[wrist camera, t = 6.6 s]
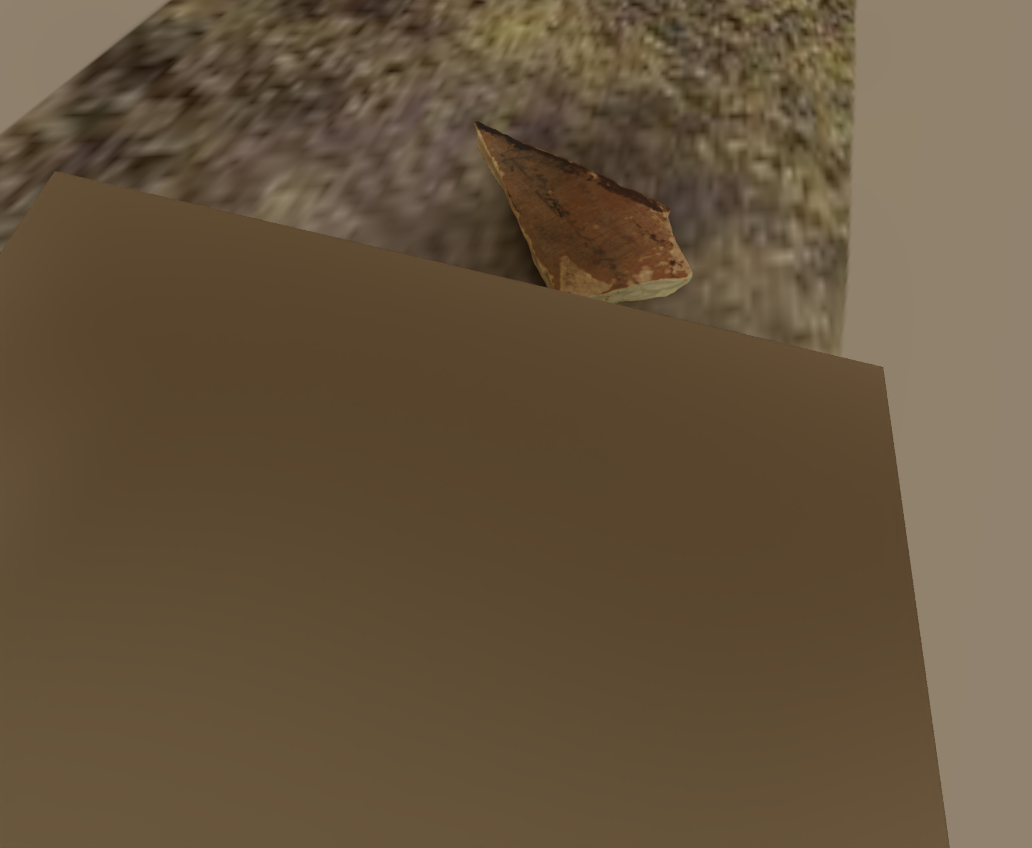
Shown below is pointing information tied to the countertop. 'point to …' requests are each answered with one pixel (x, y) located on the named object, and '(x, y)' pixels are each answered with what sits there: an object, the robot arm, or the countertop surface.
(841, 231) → the countertop surface
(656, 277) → the shard
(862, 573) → the oak block
